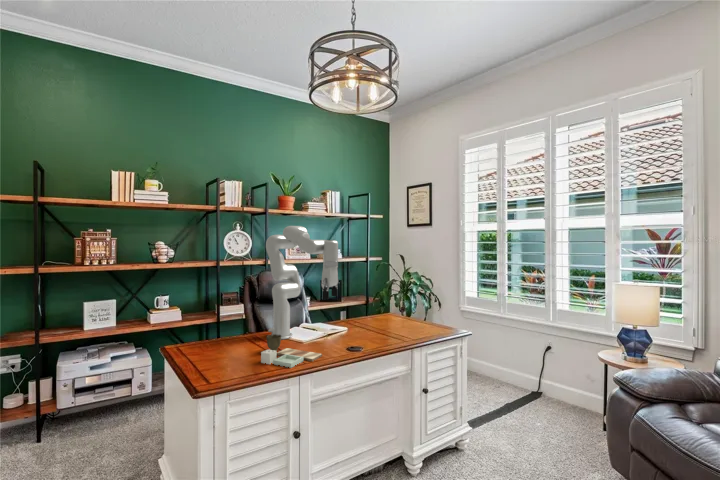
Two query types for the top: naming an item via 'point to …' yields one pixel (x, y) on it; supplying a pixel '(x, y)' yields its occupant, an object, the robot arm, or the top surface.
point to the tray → (288, 360)
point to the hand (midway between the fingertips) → (330, 297)
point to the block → (268, 356)
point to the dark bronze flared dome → (273, 341)
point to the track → (300, 354)
